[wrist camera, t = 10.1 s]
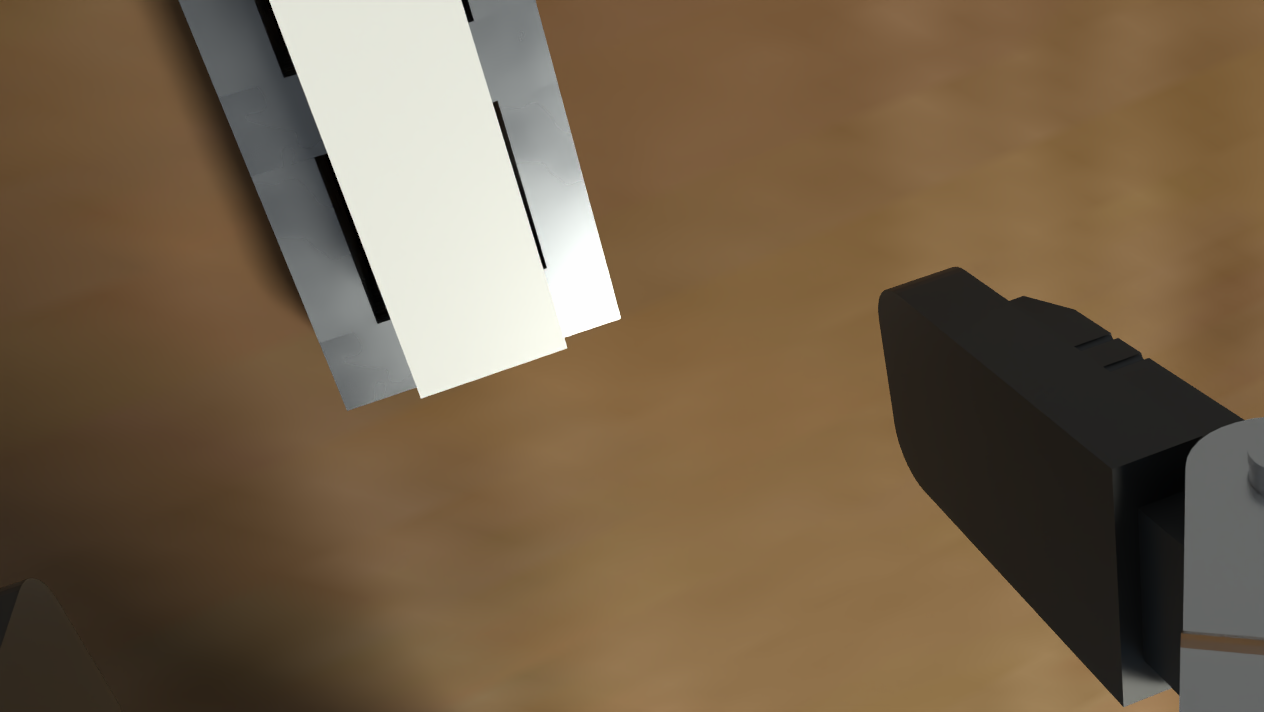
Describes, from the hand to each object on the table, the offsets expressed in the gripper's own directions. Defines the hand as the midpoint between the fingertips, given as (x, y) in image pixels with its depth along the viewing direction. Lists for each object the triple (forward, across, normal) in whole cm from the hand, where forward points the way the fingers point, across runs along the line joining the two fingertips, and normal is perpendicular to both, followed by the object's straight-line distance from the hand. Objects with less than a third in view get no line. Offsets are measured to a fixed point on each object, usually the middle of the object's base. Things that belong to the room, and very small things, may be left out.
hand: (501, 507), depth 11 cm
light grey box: (+20, 0, 0) cm, 20 cm away
